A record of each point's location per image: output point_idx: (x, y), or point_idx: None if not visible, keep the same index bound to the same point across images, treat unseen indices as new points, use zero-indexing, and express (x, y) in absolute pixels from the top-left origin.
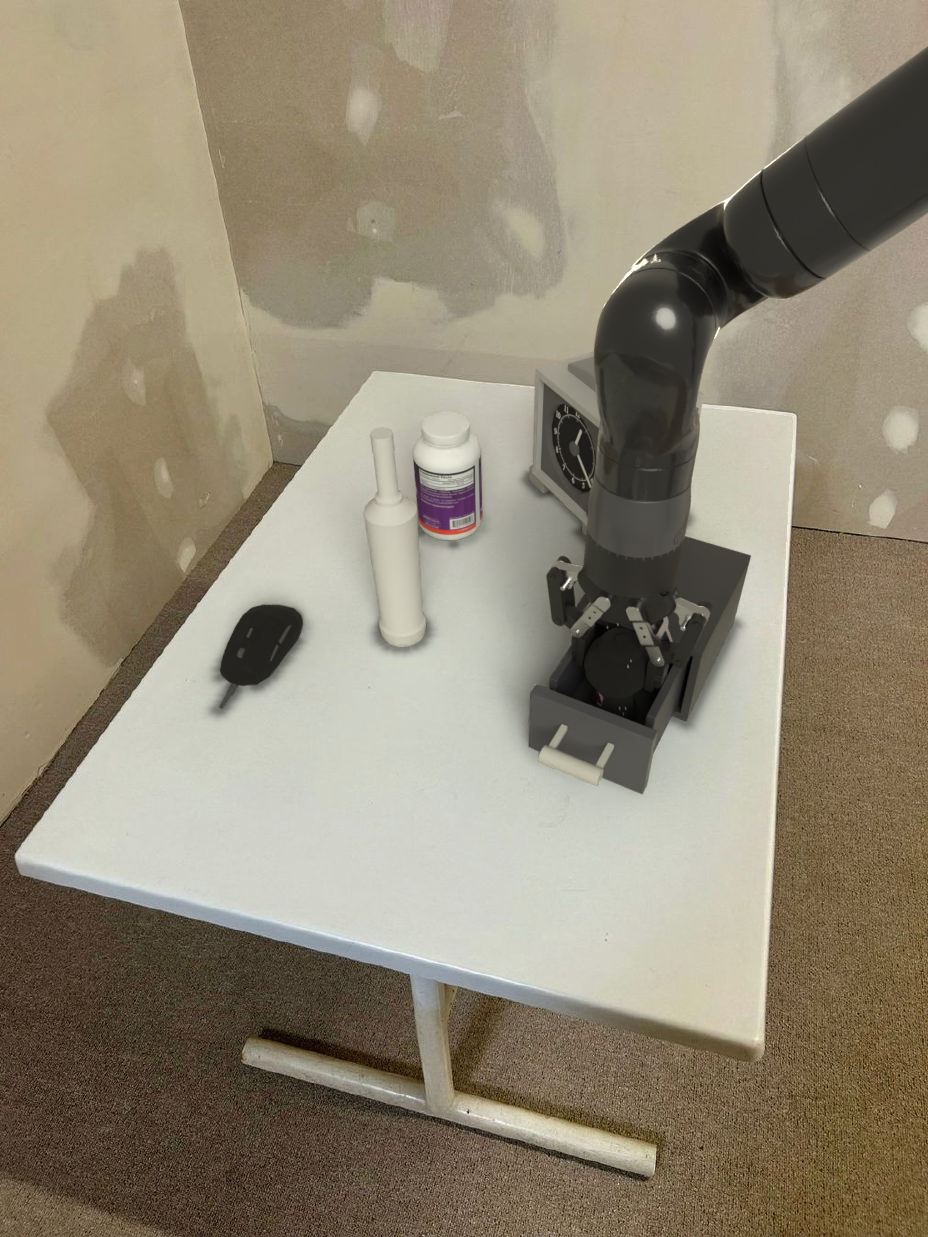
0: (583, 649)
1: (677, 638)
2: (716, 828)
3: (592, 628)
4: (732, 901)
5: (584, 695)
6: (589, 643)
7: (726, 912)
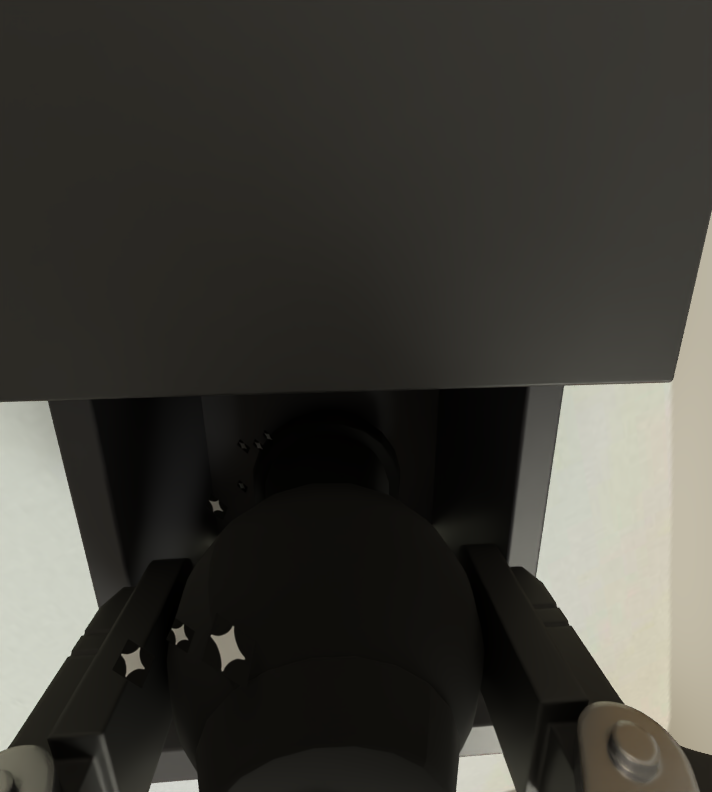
0: (156, 755)
1: (534, 338)
2: (590, 530)
3: (106, 757)
4: (631, 626)
5: (230, 418)
6: (156, 687)
7: (624, 643)
